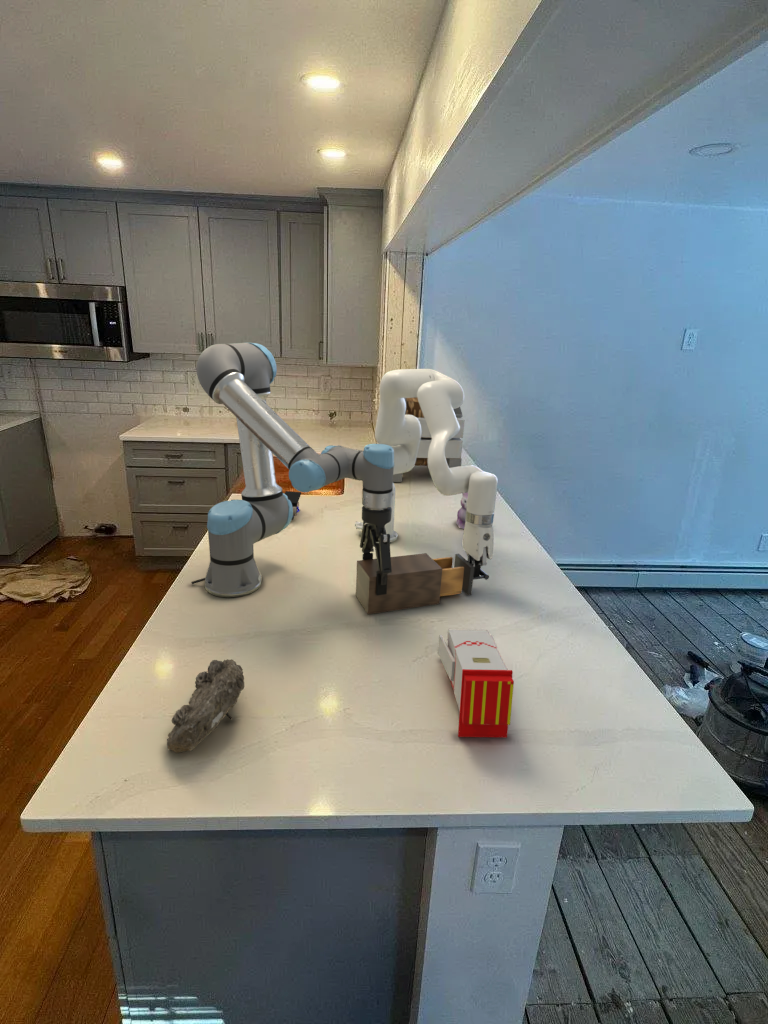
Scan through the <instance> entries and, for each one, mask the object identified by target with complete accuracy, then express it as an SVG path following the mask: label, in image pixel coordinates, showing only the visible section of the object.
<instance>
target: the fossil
mask: <svg viewBox="0 0 768 1024" xmlns="http://www.w3.org/2000/svg"><path fill="white" fill-rule="evenodd" d="M243 670H244V669H243V667H242V665H240V664H237V662H236V661H235V660H234V659H232V658H231V659H227V658H226V659H224V660H223V661H222V660H217V659H212V660H211V661H210V663H209V665H208V666H207V671H201V672H199V673H198V674H197V675H196V676H195V680H194V684H195V685H194V687H195V689H194V690H193V693H192V694H191V697H190V698H189V700H188V704H184V705H182V706H181V707H180V709H177V710H176V711H175V713H174V715H173V716H172V718H171V723H172V724H173V727H172V730H171V731H170V732H168V734H167V738H166V741H167V742H166V745H167V749H168V750H169V751H173V752H174V753H176V754H178V753H182V752H188V751H189V752H192V751H193V750H195V748H196V747H197V746H199V744H200V743H201V742H203V741H204V740H205V739H206V738H207V737H208V736H209V735H210V734H211V733H212V732H214V730H215V729H217V727H218V726H219V724H220V722H221V721H222V720H223V719H224V718H225V716H226V717H227V719H229V720H233V717H232V715H230V714H229V710H230V709H231V708H234V706H235V704H236V703H237V702H238V699H239V697H240V695H241V693H242V691H243V690H245V689H244V688H245V675H244V671H243Z"/></svg>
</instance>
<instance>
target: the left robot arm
mask: <svg viewBox="0 0 768 1024" xmlns="http://www.w3.org/2000/svg"><path fill="white" fill-rule="evenodd" d="M277 370H278V367H277V362H276V360H275V358H274V355H273V354H272V352H271V351H270V350H269V349H267V347H266V346H265V345H263V344H260V343H257V342H248V341H247V342H246V341H245V342H236V343H233V342H232V343H215V344H212V345H209V346H208V347H207V348H205V349H204V350H203V351H202V352H200V355H199V356H198V359H197V361H196V376H197V380H198V383H199V385H200V386H201V388H202V390H203V391H204V392H205V393H206V395H208V397H209V398H210V399H211V400H212V401H213V402H214V403H216V404H218V405H223V406H224V407H225V408H226V409H227V410H229V412H230V413H231V414H233V416H234V417H235V418H236V425H237V433H238V440H239V448H240V455H241V456H240V457H241V461H242V462H241V463H242V470H243V476H244V483H245V487H244V489H243V490H242V491H241V493H240V495H241V499H230V500H224V501H221V502H218V503H216V504H215V505H213V506H212V507H211V508H210V509H209V511H207V521H206V522H207V523H206V528H207V535H208V536H207V537H208V548H209V564H208V567H207V571H206V575H205V577H203V578H200V579H195V580H193V581H191V582H190V584H191V585H195V584H198V583H202V582H204V589H205V591H206V592H207V593H208V594H210V595H212V596H215V597H219V598H238V597H244V596H247V595H249V594H252V593H254V592H256V591H258V589H260V587H261V585H262V577H263V575H262V573H261V572H260V570H259V568H258V565H257V562H256V560H255V556H254V555H255V554H254V544H256V543H258V542H260V541H262V540H265V539H267V538H270V537H272V536H275V535H277V534H279V533H281V532H282V531H284V530H285V529H287V528H288V527H289V526H290V524H291V523H292V521H293V520H292V517H293V507H292V503H291V501H290V500H288V497H287V495H285V492H283V487H282V486H280V485H279V484H278V483H277V477H276V472H275V471H276V470H275V462H274V456H275V457H276V458H277V459H278V460H279V461H280V462H281V463H282V464H283V465H284V466H285V467H286V468H287V470H288V479H289V481H290V483H291V486H292V487H293V489H295V490H296V491H297V492H301V493H309V492H314V491H319V490H320V489H322V488H323V487H326V486H329V485H330V484H334V483H336V482H339V481H342V480H344V479H351V480H355V481H361V482H362V491H361V504H362V507H361V521H362V523H363V529H362V530H361V533H362V535H361V534H360V535H361V536H360V544H359V548H360V549H361V553H362V560H368V559H374V552H375V559H377V566H378V571H376V595H384V594H387V574H388V573H391V572H392V570H391V557H392V556H391V545H390V544H391V542H390V534H386V529H385V525H386V524H387V523H389V522H390V521H391V514H392V508H391V507H390V506H391V505H392V496H393V495H394V493H393V492H392V489H393V483H394V482H393V471H394V450H393V448H392V447H391V446H389V445H385V444H378V443H369V444H366V445H365V446H364V447H363V450H361V449H357V448H351V447H346V446H342V445H333V444H331V445H326V446H325V447H324V449H323V450H322V451H321V453H320V454H319V453H318V452H317V451H316V450H315V449H313V448H312V447H311V446H310V444H308V443H307V442H306V441H305V440H304V439H303V438H302V437H301V436H300V435H299V434H298V433H297V432H296V431H295V430H294V429H293V428H292V427H291V426H290V425H289V424H288V423H287V422H285V420H284V419H283V418H281V417H280V415H279V414H278V413H276V411H274V409H272V408H271V407H270V406H269V405H268V404H267V398H268V397H269V396H270V395H271V393H272V392H271V384H272V383H273V382H274V380H275V378H276V377H277ZM376 542H379V543H376Z"/></svg>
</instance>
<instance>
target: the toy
mask: <svg viewBox="0 0 768 1024" xmlns="http://www.w3.org/2000/svg"><path fill="white" fill-rule="evenodd" d="M446 640H447V643H446V641H445V639H444V636H443V635H442V634H439V637H438V646H437V656H438V657H439V659H440V661H441V663H442V666H443V668H444V670H445V672H446V674H447V677H448V679H449V681H450V684H451V687H452V690H453V693H454V697H455V701H456V705H457V708H458V711H459V714H458V715H459V716H458V730H457V731H458V732H457V737H458V738H508V731H509V726H510V725H511V717H512V707H513V697H514V696H513V695H514V684H515V680H514V679H513V673H514V671H513V670H512V669H508V667H507V665H506V662H505V661H504V659H503V658H502V655H501V653H500V651H499V649H498V647H497V643H496V639H495V637H494V635H493V634H491V632H490V631H489V629H467V628H466V629H465V628H463V629H461V628H460V629H459V628H448V630H447V639H446Z"/></svg>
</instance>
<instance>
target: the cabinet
mask: <svg viewBox="0 0 768 1024" xmlns="http://www.w3.org/2000/svg"><path fill="white" fill-rule="evenodd" d="M433 559H434V558H432V557H431V556H430V555H429V554H428V553H426V552H424V553H416V554H407V555H405V554H404V555H397V556H391V570H392V572H391V573H388V574H387V594H384V595H376V571H378V566H377V559H376V558H373V559H368V560H363V559H361V560H356V577H355V578H356V581H355V597H356V598H357V600H358V601H359V603H360V604H361V606H362V608H363V609H364V611H365V612H366V614H367V615H372V614H378V613H387V612H393V611H400V610H408V609H414V608H421V607H428V606H434V605H440V602H441V601H440V598H441V596H440V589H441V578H442V568H441V567H440V566H439V565H438V564H437V563H436V562H435V561H434V560H433Z"/></svg>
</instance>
